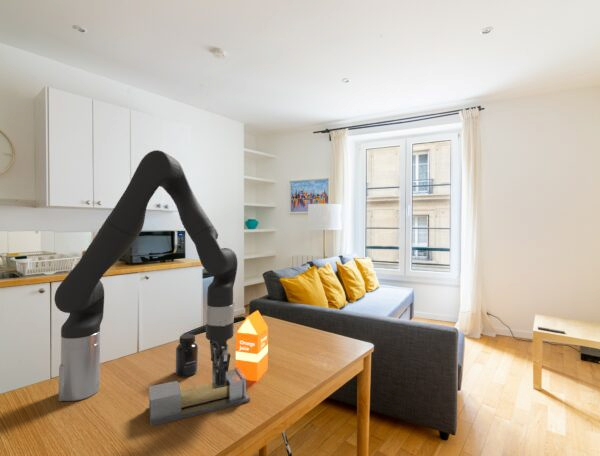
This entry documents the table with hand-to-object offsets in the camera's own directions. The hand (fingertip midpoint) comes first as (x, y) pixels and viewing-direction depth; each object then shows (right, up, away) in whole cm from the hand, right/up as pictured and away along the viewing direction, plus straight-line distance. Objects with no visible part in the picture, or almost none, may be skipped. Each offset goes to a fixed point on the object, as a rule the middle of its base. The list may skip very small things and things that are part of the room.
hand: (219, 381), depth 89 cm
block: (-3, -4, -1) cm, 5 cm away
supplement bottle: (-15, -5, +16) cm, 22 cm away
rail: (-4, -5, -2) cm, 7 cm away
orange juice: (+7, -5, +16) cm, 18 cm away
